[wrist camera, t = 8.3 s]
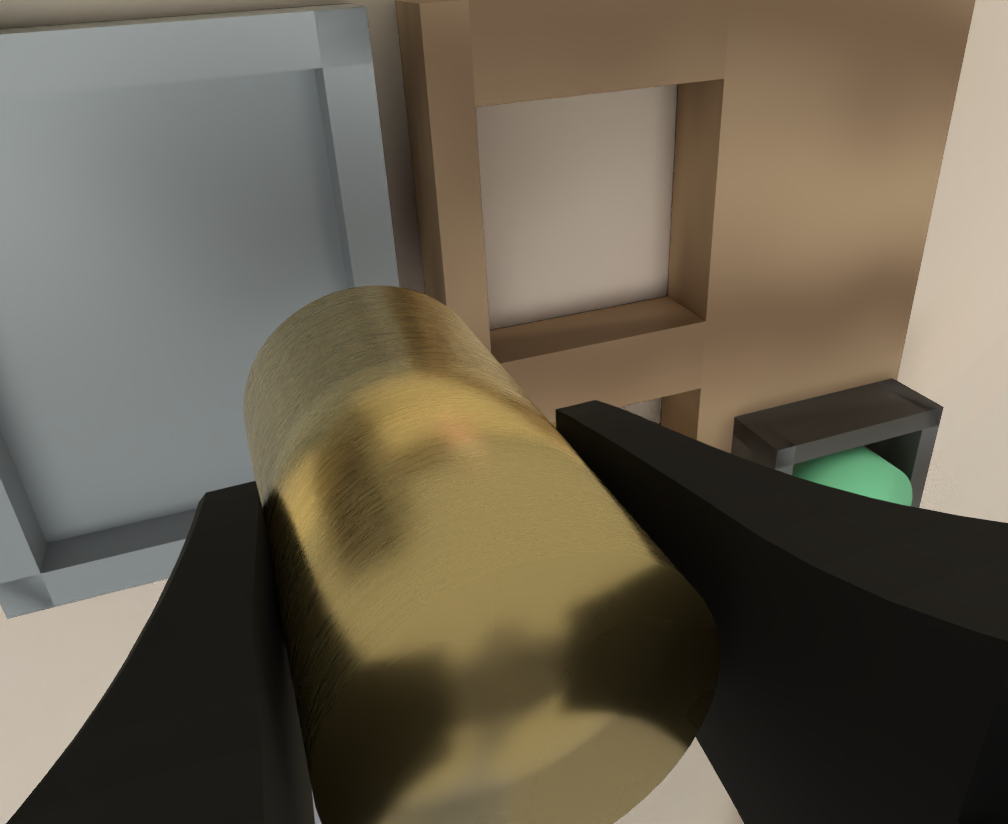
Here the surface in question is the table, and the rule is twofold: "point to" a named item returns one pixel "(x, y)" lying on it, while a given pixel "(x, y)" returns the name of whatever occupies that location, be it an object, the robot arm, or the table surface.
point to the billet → (459, 582)
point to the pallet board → (717, 206)
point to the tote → (163, 266)
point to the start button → (858, 475)
